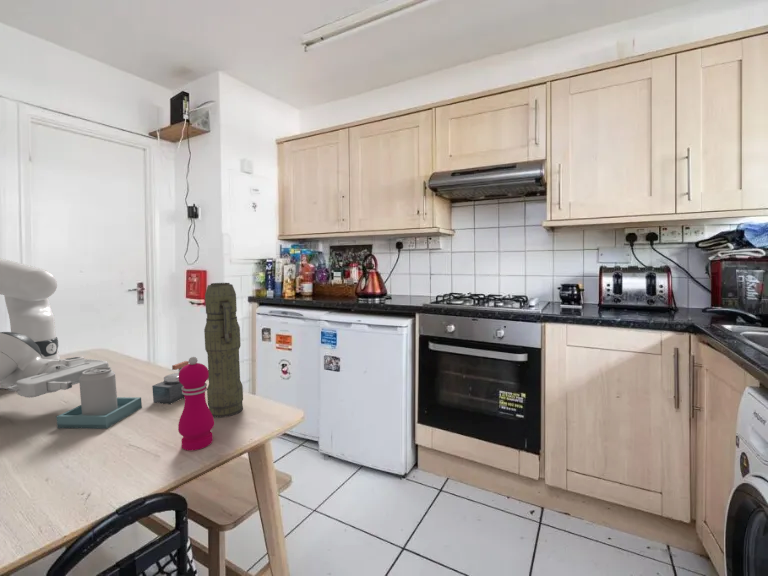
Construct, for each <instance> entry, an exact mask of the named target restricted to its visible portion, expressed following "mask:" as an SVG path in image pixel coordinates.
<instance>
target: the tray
mask: <svg viewBox="0 0 768 576" xmlns="http://www.w3.org/2000/svg"><path fill="white" fill-rule="evenodd" d="M142 403H143V402H142V397H136V396H135V397H130V396H129V397H125V396H124V397H121V396H120V397H119V396H117V406H118V408H117V409H116V410H114V411H112V412H111V413H109V414H107V415H82V408H81V404H80V405H78V406H75V407H74V408H71V409H70V410H67V411H65V412H63V413H60V414H59V415H56V428H57V429H99V430H100V429H101V430H103V429H105V430H106V429H108V428H110V427H112V426H113V425H115V424H117V423H119V422H120V421H122V420H123V419H126V418H127V417H128V416H130V415H132V414H134V413H136V412H137V411H139V410H141V409H142V408H143V407H142V406H143V405H142Z"/></svg>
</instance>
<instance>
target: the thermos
mask: <svg viewBox="0 0 768 576" xmlns="http://www.w3.org/2000/svg"><path fill="white" fill-rule="evenodd" d="M236 293H237V292H236V290H235V288H234V285H233V284H230V282H213V283H212V282H211V283H210V284H208V285H207V287H206V291H205V293H204V294H205V295H204V300H205V314H206V323H205V327H204V329H203V330H204V331H203V332H204V348H205V349H204V350H205V351H206V354H207V369H208V372H209V377H208V384H207V390H206V392H207V393H206V395H207V406H208V408H209V410H210V411H211V413H212V415H213V418H227V417H232V416H235V415H237V414H239V413H241V412H242V411H243V409H244V407H243V406H244V405H243V401H244V391H243V389H244V387H243V384H242V382H241V371H240V370H241V366H240V365H241V364H240V348H241V327H240V324H239V322H238V316H237V311H238V309H237V294H236Z"/></svg>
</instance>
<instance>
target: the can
mask: <svg viewBox="0 0 768 576" xmlns="http://www.w3.org/2000/svg"><path fill="white" fill-rule="evenodd" d="M82 374H83V375H82V376H81V377H80V378H79V383H78V384H79V393H80V405H81V408H82V415H107V414H109V413H111V412H112V411H114V410H116V409H117V408H118V406H117V397H118V394H117V393H118V392H117V380H116V379H117V378H116V372H115V371H113V368H112V367H111V366H109V367H99V368H93V369H89V370H86V371H84V372H82Z"/></svg>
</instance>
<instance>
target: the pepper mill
mask: <svg viewBox="0 0 768 576" xmlns="http://www.w3.org/2000/svg"><path fill="white" fill-rule="evenodd" d="M188 361H189V364H188V365H186V366H184V367H183V368H182V369H181V370H180V372H179V371H178V373H179V377H178V378H179V382H180V383H181V384H182V385H183V387H182V394H183V395H184V397H185V398H184V405H183V409H182V412H181V414H180V417H179V420H178V424H177V425H178V426H177V428H178V429H177V432H178V434H179V435H180V436H182V438H181V441H180V442H181V448H182V449H183V450H184V451H190V452H193V451H198V450H202V449H204V448H207V447H208V446H210V445H211V444H212V443H213V441H214V440H213V439H214V437H213V432H212V430H213V428H214V426H215V420H214V418H215V417H213V415H212V413H211V411H210V410H209V406H208V402H207V400H206V392H207V388H208V384H207V380H209V372H208V366H206V365H205V364H202V363H200V362H198V358H197V357H196V356H191V357H190V358H188Z"/></svg>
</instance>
